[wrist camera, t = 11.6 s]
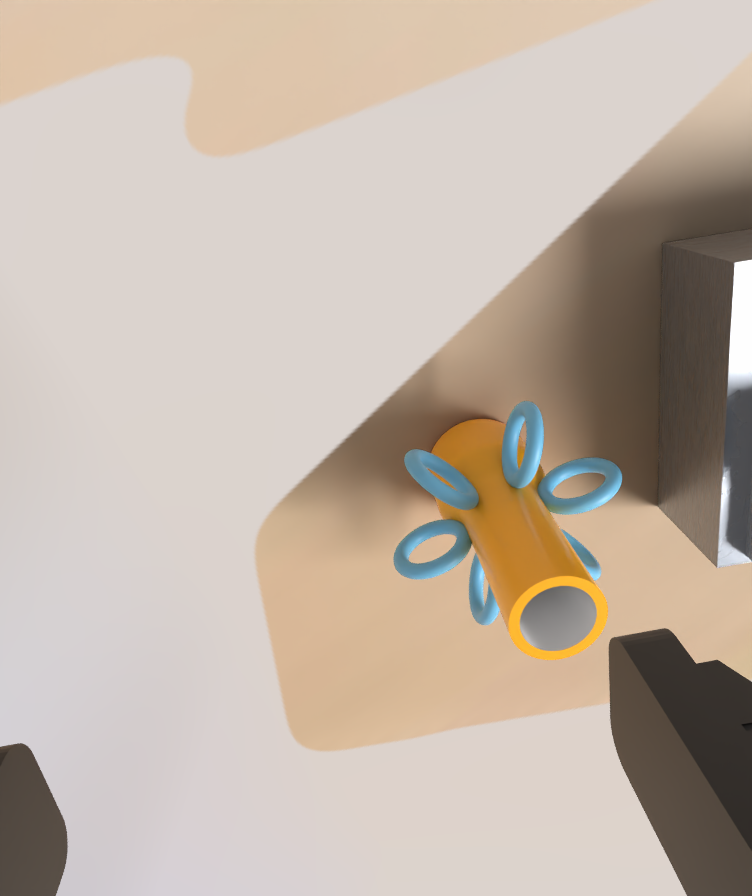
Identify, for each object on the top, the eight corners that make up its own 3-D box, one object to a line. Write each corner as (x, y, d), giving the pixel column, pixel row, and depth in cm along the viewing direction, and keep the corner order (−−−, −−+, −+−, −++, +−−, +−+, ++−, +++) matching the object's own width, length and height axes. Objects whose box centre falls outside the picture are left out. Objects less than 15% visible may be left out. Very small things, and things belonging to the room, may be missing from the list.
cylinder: (544, 341, 39) (671, 445, 26) (598, 492, 43) (733, 652, 30) (344, 431, 40) (362, 579, 27) (415, 571, 44) (463, 761, 31)
